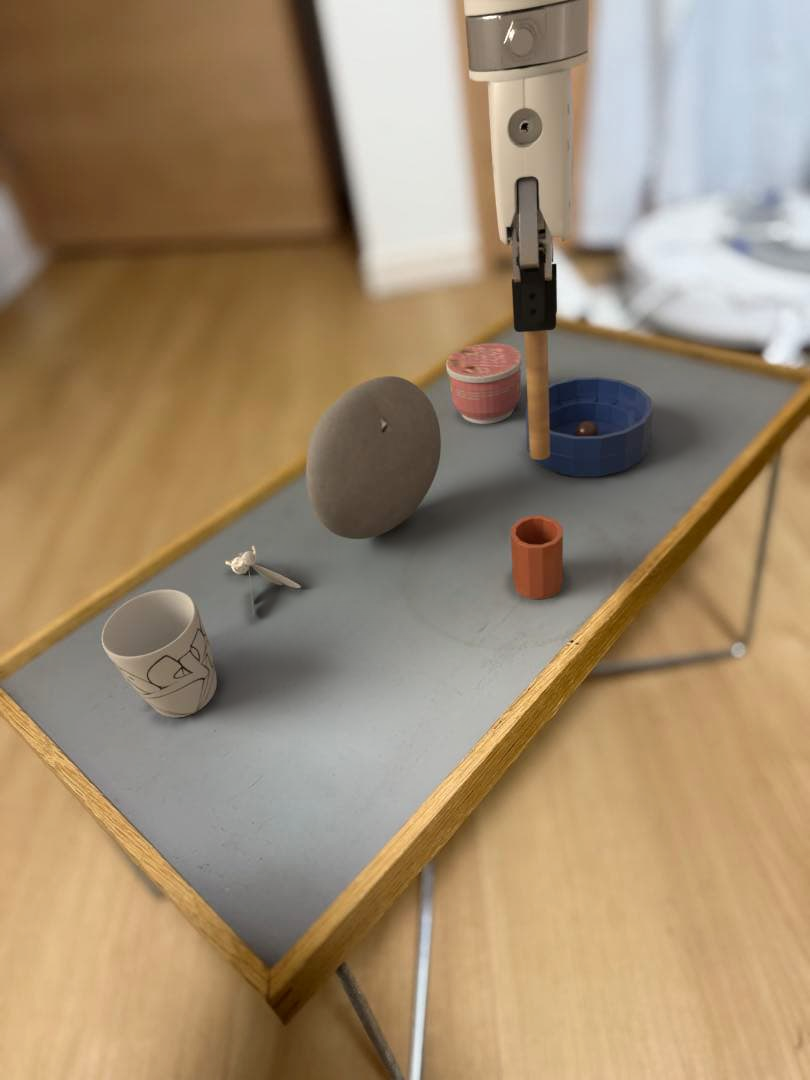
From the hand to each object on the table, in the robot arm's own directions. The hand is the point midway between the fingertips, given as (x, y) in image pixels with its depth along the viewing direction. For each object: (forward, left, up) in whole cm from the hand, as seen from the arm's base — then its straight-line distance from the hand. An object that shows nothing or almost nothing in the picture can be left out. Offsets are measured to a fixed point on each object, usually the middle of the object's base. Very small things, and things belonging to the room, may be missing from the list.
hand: (535, 321), depth 56 cm
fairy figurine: (+31, +2, -29) cm, 42 cm away
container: (+9, -36, -29) cm, 47 cm away
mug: (+34, +16, -29) cm, 48 cm away
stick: (0, 0, -13) cm, 13 cm away
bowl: (-5, -26, -28) cm, 39 cm away
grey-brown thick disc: (+18, -9, -29) cm, 35 cm away
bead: (-5, -26, -26) cm, 37 cm away
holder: (0, 0, -28) cm, 28 cm away
